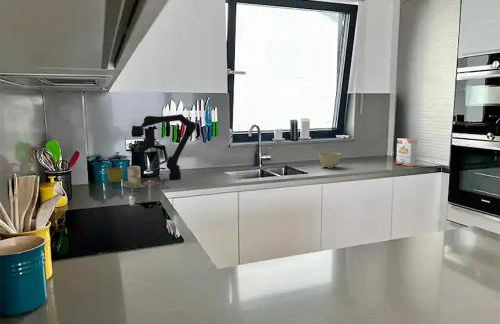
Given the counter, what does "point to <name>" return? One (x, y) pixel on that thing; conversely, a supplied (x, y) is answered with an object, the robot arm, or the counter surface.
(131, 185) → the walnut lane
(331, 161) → the planter bowl
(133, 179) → the beech block
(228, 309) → the counter surface
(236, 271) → the counter surface
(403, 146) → the cracker box
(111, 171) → the flower pot
